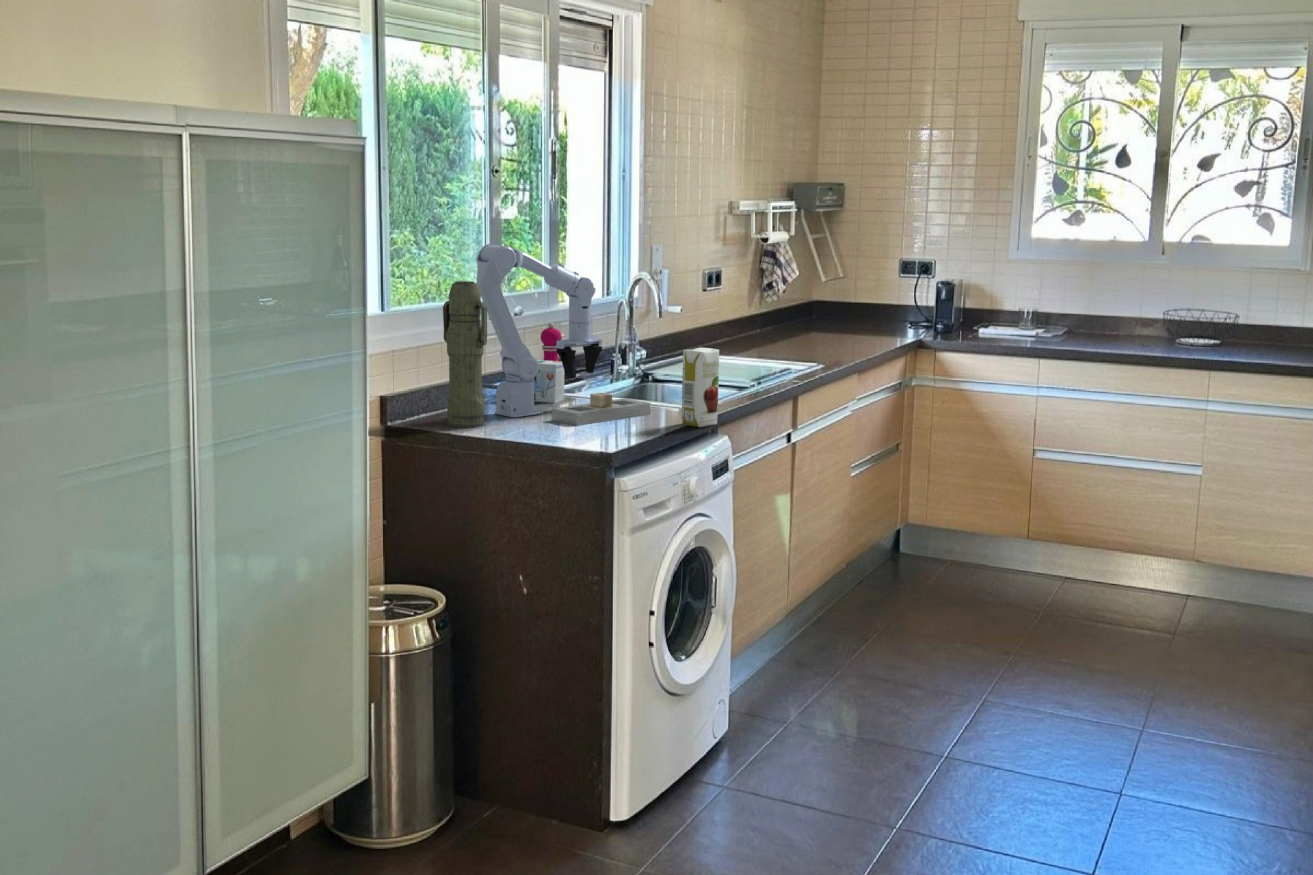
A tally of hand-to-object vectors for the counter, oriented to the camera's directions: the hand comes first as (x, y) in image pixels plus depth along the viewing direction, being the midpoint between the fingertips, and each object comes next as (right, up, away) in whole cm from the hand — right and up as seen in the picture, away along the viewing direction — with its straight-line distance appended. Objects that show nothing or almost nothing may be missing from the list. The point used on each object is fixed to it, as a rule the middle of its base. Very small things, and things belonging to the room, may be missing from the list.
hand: (579, 373), depth 346 cm
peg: (+6, -12, -10) cm, 16 cm away
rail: (+6, -12, -10) cm, 17 cm away
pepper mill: (-10, -4, +29) cm, 31 cm away
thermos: (-27, -14, -24) cm, 38 cm away
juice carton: (+31, -14, -17) cm, 38 cm away
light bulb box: (-11, -7, +15) cm, 20 cm away
